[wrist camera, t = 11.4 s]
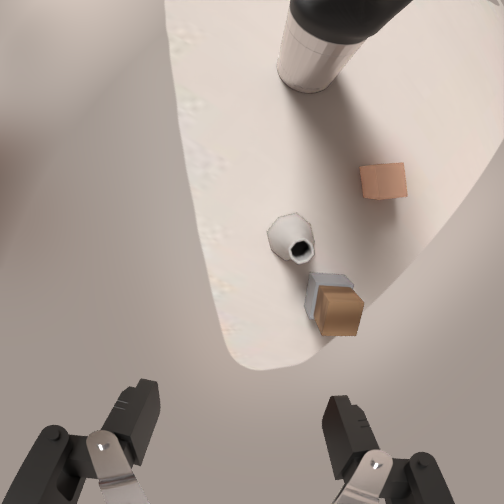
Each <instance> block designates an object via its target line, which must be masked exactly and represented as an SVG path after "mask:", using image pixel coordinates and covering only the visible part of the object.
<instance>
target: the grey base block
mask: <svg viewBox="0 0 504 504" xmlns="http://www.w3.org/2000/svg"><path fill="white" fill-rule="evenodd" d="M319 285H324V286H341V287H351V288H352V289H353V287H354V284H353V283H352V282H351V281H350V280H349V279H348V278H347V277H346V276H345V275H339V274H327V273H315V272H310V274H309V280H308V286H307V292H306V298H305V304H304V307H305V309H306V312H307V314H308V317H309V319H314V316H313V315H314V310H315V304H316V299H317V293H318V287H319Z"/></svg>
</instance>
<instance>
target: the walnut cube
mask: <svg viewBox="0 0 504 504" xmlns="http://www.w3.org/2000/svg"><path fill="white" fill-rule="evenodd" d="M363 307H364V302H363V301H362V299H361V298H360V297H359V296H358V295H357V294H356V293H355V292H354V291H353V289H352V288H351V287H341V286H324V285H319V287H318V293H317V299H316V304H315V310H314V315H313V316H314V319H315V321H316V323H317V325H318V328H319V330H320V332H321V335H322V336H356V334H357V331H358V326H359V323H360V319H361V315H362V311H363Z"/></svg>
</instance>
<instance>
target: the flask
mask: <svg viewBox="0 0 504 504" xmlns="http://www.w3.org/2000/svg"><path fill="white" fill-rule="evenodd" d="M267 235H268V239H269V243H270V247H271V250H272V251H274V252H275V253H276V254H277V255H279V256H280V257H281V258H283V259H284V260H285V261H286V260H290V259H292V260H293V261H294V262H296V263H297V264H298V265H299V264H303V263H307V262H309V261H310V259H311V258H312V257H313V256H314V255H315V252H314V248H313V243H314V237H313V233H312V228H311V224H310V223H308V222H307V221H306V220H305V219H304V218H302V217H301V216H300V215H299V214H297V213H293V214H289V215H286V216H282V217H278V218H277V220H276V221H275V222H274V223H273V225H272V226H271V227H270V228H269V230H268V231H267Z"/></svg>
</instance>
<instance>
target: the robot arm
mask: <svg viewBox="0 0 504 504" xmlns="http://www.w3.org/2000/svg"><path fill="white" fill-rule="evenodd" d="M411 1H412V0H290V6H289V10H288V15H287V20H286V25H285V29H284V34H283V38H282V43H281V48H280V52H279V57H278V62H277V70H278V73H279V76H280V77H281V79H282V80H283V81H284V82H285V83H286V84H287V85H288V86H289V87H291V88H292V89H295V90H297V91H300V92H304V93H315V92H319V91H322V90H323V89H325V88H326V87H327V86H329V85H330V83H331V82H332V81H333V80H334V78H335V77H336V76H337V75H338V73H339V72H340V71H341V70H342V69H343V67H344V66H345V65H346V64H347V62H348V61H349V60H350V59H351V57H352V56H353V55H354V54H355V53H356V51H357V50H358V49H359V48H360V46H361V45H362V44H363V43H364V42H365V40H366V39H367V38H368V37H370V36H372V35H374V34H376V33H377V32H378V31H379V30H380V29H381V28H382V27H383V26H384V25H385V24H386V23H387V22H389V21H390V20H391V19H392V18H393V17H394V16H395V15H396V14H398V13H399V12H400V11H401V10H402V9H403V8H405V7H406V6H407V5H408V4H409V3H410V2H411ZM159 414H160V398H159V391H158V384H157V382H156V381H151V380H146V379H140V381H139V383H138V385H137V386H136V388H134V387H128V388H127V389H126V390H124V391H123V392H122V393H121V394H120V396H119V398H118V401H117V402H116V403H115V405H114V407H113V409H112V410H111V412H110V414H109V416H108V418H107V419H106V421H105V423H104V425H103V427H102V428H101V430H97V431H94V432H92V433H91V434H90V435H89V436H77V435H69V434H68V432H67V431H66V430H65V429H64V428H63V427H61V426H58V425H50V426H47V427H45V428H44V429H43V430H42V432H41V433H40V435H39V436H38V438H37V440H36V441H35V443H34V445H33V446H32V448H31V450H30V451H29V453H28V455H27V457H26V459H25V460H24V462H23V464H22V466H21V467H20V469H19V471H18V473H17V475H16V477H15V479H14V481H13V482H12V484H11V486H10V488H9V490H8V492H7V494H6V496H5V498H4V500H3V502H2V504H77V501H78V499H79V496H80V493H81V491H82V488H83V485H84V483H85V480H86V478H94V479H99V487H100V489H101V492H102V494H103V496H104V499H105V501H106V503H107V504H150V502H149V501H148V499H147V497H146V496H145V494H144V492H143V490H142V488H141V486H140V485H139V483H138V481H137V479H136V477H135V475H134V474H133V472H132V470H131V469H132V467H133V464H135V465H139V466H141V464H142V461H143V458H144V456H145V453H146V450H147V447H148V444H149V442H150V438H151V436H152V433H153V431H154V428H155V425H156V422H157V420H158V417H159ZM322 429H323V433H324V437H325V441H326V444H327V449H328V452H329V457H330V461H331V465H332V468H333V473H334V477H335V480H339V479H344V483H345V484H344V485H343V487H342V488H341V490H340V492H339V493H338V495H337V496H336V497H335V499H334V500H333V502H332V503H331V504H378V503H379V499H378V498H385V501H386V504H455V503H454V501H453V498H452V496H451V494H450V491H449V489H448V487H447V485H446V482H445V480H444V478H443V476H442V473H441V471H440V469H439V467H438V465H437V462H436V460H435V459H434V457H433V456H432V455H430V454H428V453H425V452H418V453H416V454H414V455H413V456H412V457H411V458H410V459H394V458H391V456H390V455H389V454H388V453H387V452H385V451H383V450H380V449H379V446H378V444H377V441H376V439H375V437H374V434H373V432H372V430H371V427H370V425H369V423H368V421H367V418H366V416H365V414H364V411H363V410H362V409H361V408H359V407H358V406H357V405H351V403H350V400H349V398H348V396H347V395H343V396H331V397H330V399H329V402H328V405H327V407H326V410H325V413H324V415H323V419H322Z"/></svg>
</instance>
